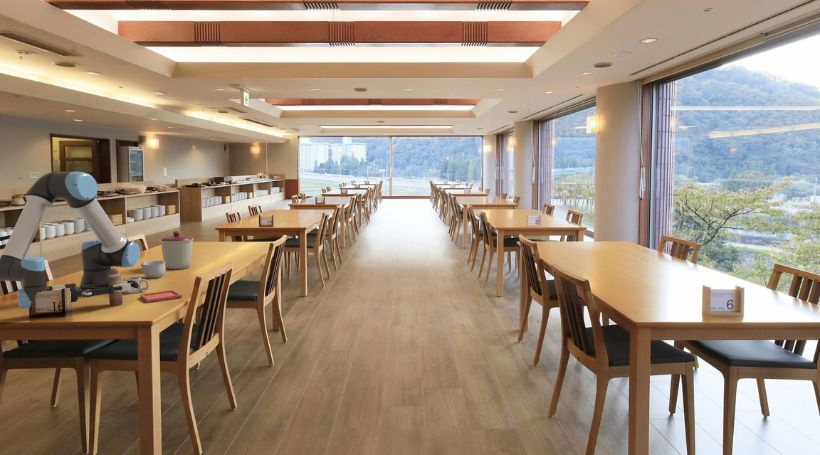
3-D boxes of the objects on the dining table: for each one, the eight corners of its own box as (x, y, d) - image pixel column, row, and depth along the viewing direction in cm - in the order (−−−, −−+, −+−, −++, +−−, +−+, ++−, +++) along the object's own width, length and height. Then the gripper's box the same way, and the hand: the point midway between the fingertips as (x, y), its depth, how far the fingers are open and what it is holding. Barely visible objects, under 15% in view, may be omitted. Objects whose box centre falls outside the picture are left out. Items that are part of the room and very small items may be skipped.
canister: (201, 265, 321) (199, 229, 318) (183, 271, 303) (181, 233, 300) (173, 264, 324) (171, 228, 321) (153, 270, 306) (151, 232, 304)
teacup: (170, 276, 290) (169, 261, 289) (151, 280, 281) (150, 264, 280) (154, 273, 297) (153, 259, 296) (135, 277, 288) (134, 262, 287)
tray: (140, 297, 245) (140, 294, 244) (173, 293, 254) (173, 289, 253) (147, 303, 236) (147, 299, 235) (181, 297, 244) (181, 294, 244)
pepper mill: (108, 304, 233) (106, 268, 232) (121, 302, 236) (118, 266, 235) (111, 306, 230) (108, 269, 228) (123, 304, 233) (121, 268, 231)
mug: (123, 294, 252) (122, 279, 251) (128, 290, 258) (127, 276, 257) (147, 293, 254) (146, 278, 253) (151, 289, 260) (150, 276, 259)
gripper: (62, 298, 228) (124, 290, 243) (69, 307, 214) (134, 297, 229) (60, 280, 227) (123, 273, 242) (68, 288, 214) (133, 280, 228)
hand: (128, 285), depth 236 cm, fingers closed on pepper mill, 5 cm apart
